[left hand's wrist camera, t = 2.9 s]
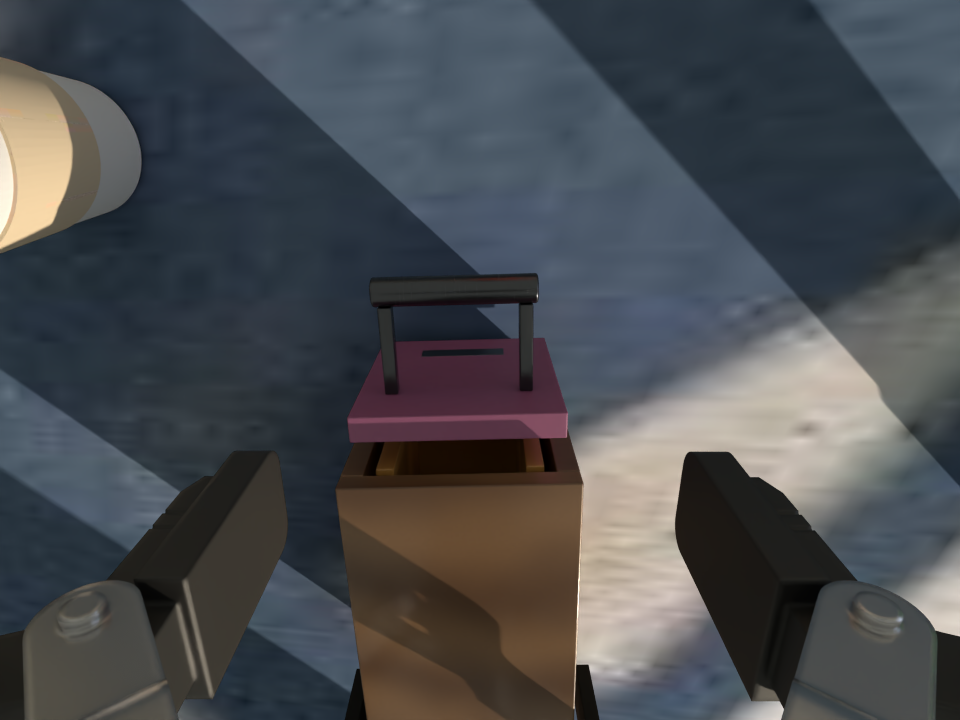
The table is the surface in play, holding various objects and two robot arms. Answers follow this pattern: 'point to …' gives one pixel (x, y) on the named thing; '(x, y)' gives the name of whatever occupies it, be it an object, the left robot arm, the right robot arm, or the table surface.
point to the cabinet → (464, 588)
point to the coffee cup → (59, 154)
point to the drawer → (458, 385)
